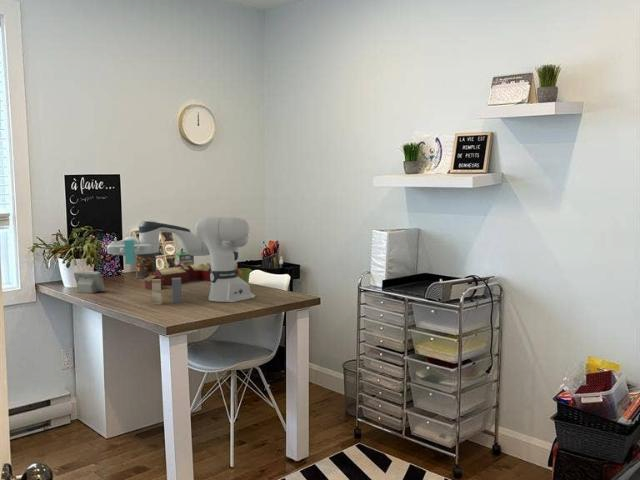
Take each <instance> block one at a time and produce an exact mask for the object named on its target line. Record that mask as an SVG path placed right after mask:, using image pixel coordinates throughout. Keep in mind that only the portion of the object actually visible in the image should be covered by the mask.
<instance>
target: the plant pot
mask: <svg viewBox="0 0 640 480" xmlns="http://www.w3.org/2000/svg"><path fill="white" fill-rule="evenodd" d="M235 269H236V270H241V271H242V272H241V274H238V277H239V278H241V279H242V280H243V281H245V282H246V283H248V284H249V280H250V274H251V272H252V269H251V268H244V267H243V268H235Z"/></svg>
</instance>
